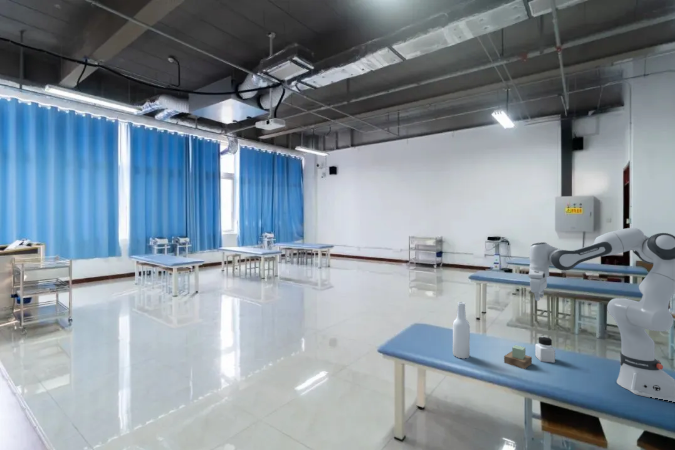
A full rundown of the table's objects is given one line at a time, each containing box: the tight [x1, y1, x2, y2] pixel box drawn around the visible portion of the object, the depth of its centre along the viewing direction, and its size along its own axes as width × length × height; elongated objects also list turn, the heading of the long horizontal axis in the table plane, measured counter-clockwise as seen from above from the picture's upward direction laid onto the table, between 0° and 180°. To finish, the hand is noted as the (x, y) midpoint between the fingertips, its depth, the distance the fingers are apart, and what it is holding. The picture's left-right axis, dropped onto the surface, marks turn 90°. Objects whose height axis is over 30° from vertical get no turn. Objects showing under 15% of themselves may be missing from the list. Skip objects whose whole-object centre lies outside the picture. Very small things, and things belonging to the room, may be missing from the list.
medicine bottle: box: [534, 335, 556, 363], centre depth 175 cm, size 7×7×12 cm
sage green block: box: [511, 344, 526, 360], centre depth 169 cm, size 5×5×5 cm
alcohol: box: [452, 301, 471, 360], centre depth 179 cm, size 9×9×30 cm
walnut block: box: [503, 350, 533, 370], centre depth 170 cm, size 10×10×4 cm
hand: (539, 298), depth 169 cm, fingers open, 8 cm apart
